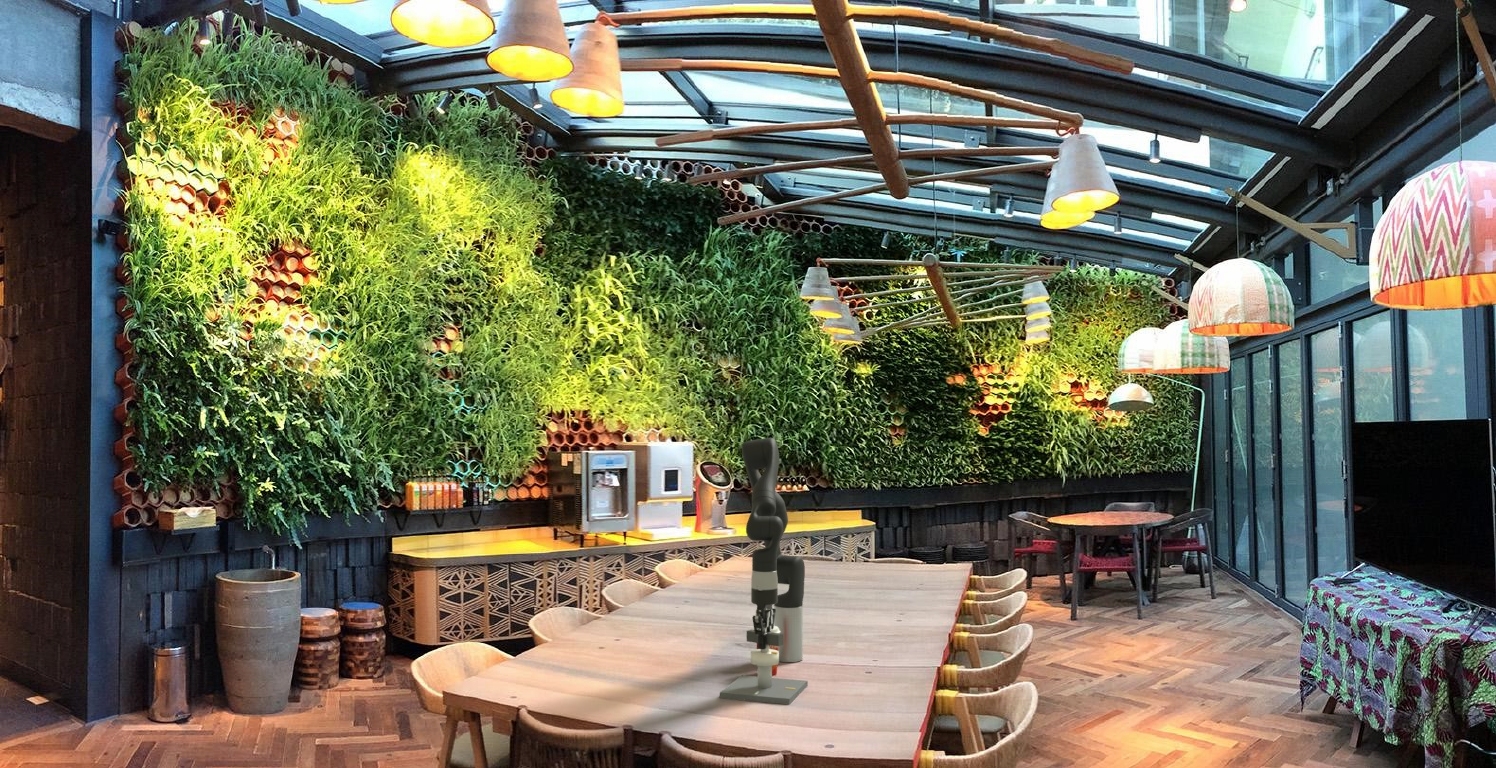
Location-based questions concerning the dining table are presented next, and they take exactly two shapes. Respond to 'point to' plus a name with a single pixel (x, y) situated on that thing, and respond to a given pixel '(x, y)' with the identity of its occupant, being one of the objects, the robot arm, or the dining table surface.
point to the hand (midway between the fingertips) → (764, 647)
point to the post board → (764, 688)
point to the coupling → (765, 655)
